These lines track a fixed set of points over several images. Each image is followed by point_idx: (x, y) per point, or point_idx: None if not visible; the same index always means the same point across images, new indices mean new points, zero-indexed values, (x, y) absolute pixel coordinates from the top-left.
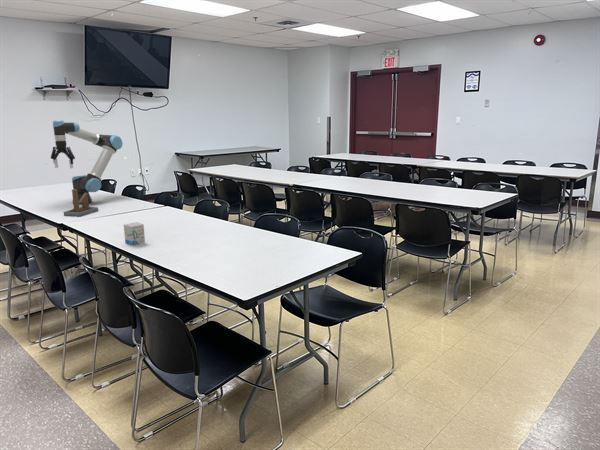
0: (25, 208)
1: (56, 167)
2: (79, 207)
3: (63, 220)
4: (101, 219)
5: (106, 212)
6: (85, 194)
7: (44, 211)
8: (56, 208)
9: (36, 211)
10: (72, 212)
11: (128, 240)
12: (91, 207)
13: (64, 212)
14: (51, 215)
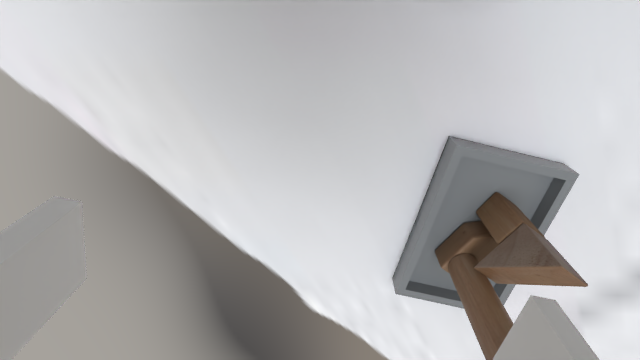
0: (12, 77)
1: (80, 263)
2: (475, 249)
3: (430, 356)
4: (612, 347)
5: (624, 204)
6: (565, 282)
7: (213, 172)
8: (232, 77)
9: (163, 171)
10: (452, 305)
11: None
12: (529, 170)
13: (400, 292)
14: (318, 268)
